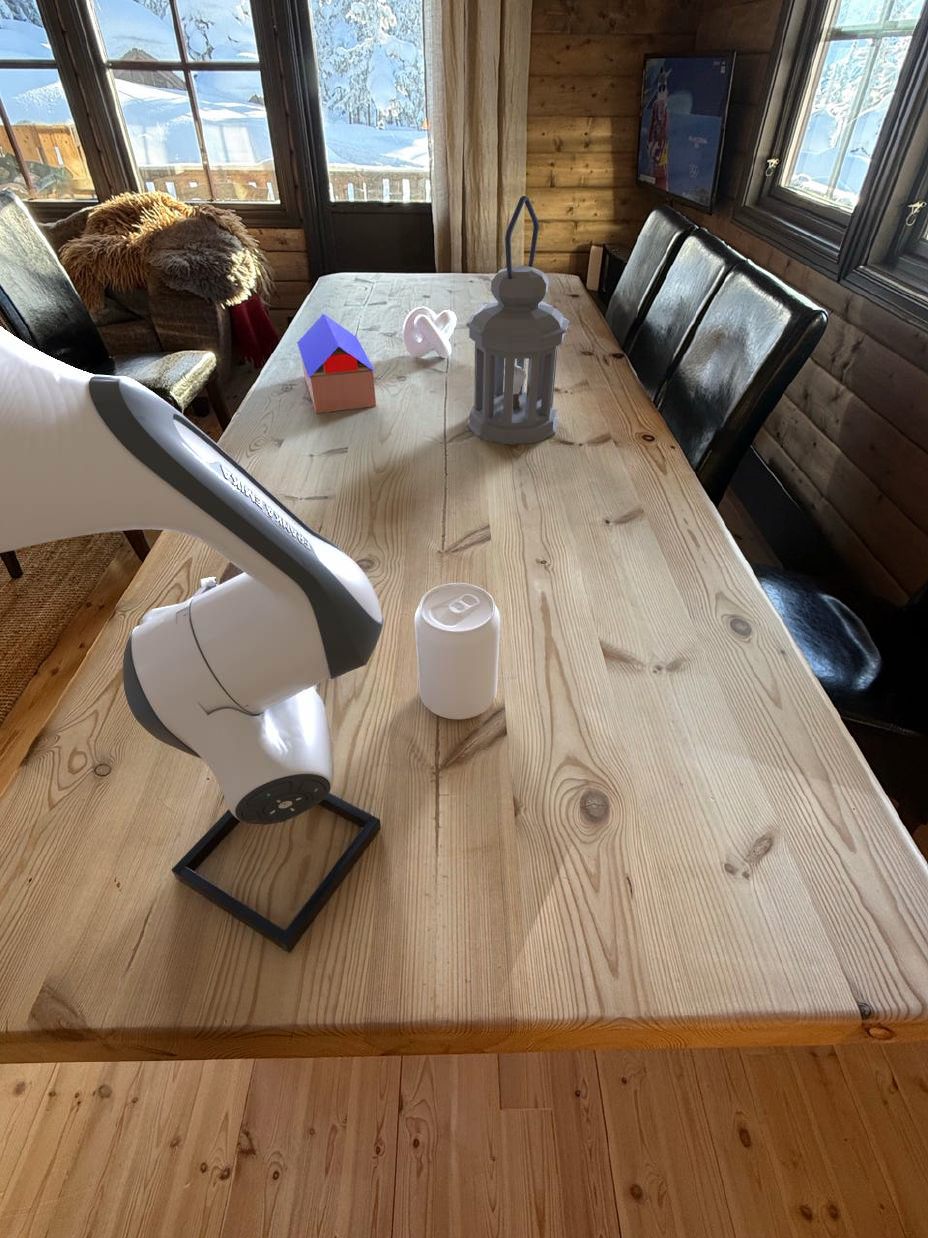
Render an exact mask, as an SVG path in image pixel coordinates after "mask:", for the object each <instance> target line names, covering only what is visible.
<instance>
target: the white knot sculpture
mask: <svg viewBox="0 0 928 1238" xmlns="http://www.w3.org/2000/svg"><path fill="white" fill-rule="evenodd" d="M456 325H457V316H456V314H455V312H453V311H451V310H448V309H447V310H443V311H441V312H440V313H439V314H438V315H437V314H436V312H435V311H433V310H432V309H430V308H428V307H426V306H418V307H416V308H414V309H413V310H411V311H410V312H409V313H408V315H407V316H406V318H405V320H404V323H403V326H402V343H403V346H404V348H405V350H406V351H407V353H408V354H409V355H411V356H413V357H416V358H423V357H425V356H427V355H429V354H430V353H431V352H432V351H433V350H434V351H435V353H436V354H437V355H438V356H439V357H440V358H443V359H447V358H448V357H450V355H451V354H452V347H451V343H450V342H449V338H450V337H451V336H452V334H453V333H454V330H455V328H456Z"/></svg>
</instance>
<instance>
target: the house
mask: <svg viewBox="0 0 928 1238" xmlns="http://www.w3.org/2000/svg"><path fill="white" fill-rule="evenodd" d="M296 343H297V347H298V350H299V353H300V358H301V363H302V371H303V375H304V377H303V378H304V380H305V383H306V386H307V389H308V392H309V396H310V398H311V402H312V405H313V408H314V412H315V414H322V413H330V412H338V411H346V410H355V409H363V408H371V407H376V406H377V400H376V391H375V390H376V389H375V379H374V372H375V371H376V370H375V369H374V367H373V365H372V363H371V361H370V359H369V358H368V356H367V354H366V352H365V349H364V348H363V346H362V344H361V343H360V341H359V339H358V337H357V336H356V335H355V334H353V333H351V331H349V330H348V329H346V328H345V327H343V326H342V325H340V324H339V323H338V322H336V321H335V320H334V319H332V318H331V317H329V316H328V315H327V314H325V313H322V314H321V315H320V316H319V318H318V319H317V320H316V321H315V322H314V323H313V324H312V325H311V326H310V328H309V329H308V330H307V331H306V332H305V333H304V334H303V335H302V336H301V337H300V339H299V340H298V341H297V342H296Z"/></svg>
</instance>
